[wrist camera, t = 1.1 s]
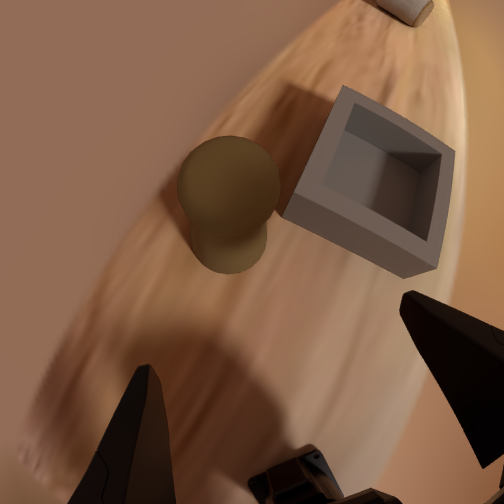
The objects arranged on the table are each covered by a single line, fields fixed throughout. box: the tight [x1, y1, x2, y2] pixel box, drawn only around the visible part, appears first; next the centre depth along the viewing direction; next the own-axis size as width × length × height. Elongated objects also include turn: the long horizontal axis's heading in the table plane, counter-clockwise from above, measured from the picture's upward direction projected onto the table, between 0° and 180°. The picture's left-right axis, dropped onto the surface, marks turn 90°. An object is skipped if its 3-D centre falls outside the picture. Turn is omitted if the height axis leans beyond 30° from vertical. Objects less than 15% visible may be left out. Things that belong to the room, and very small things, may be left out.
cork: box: [177, 136, 281, 274], centre depth 19 cm, size 6×6×11 cm
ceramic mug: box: [376, 0, 434, 27], centre depth 32 cm, size 11×8×8 cm
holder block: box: [282, 85, 455, 279], centre depth 24 cm, size 12×12×5 cm
